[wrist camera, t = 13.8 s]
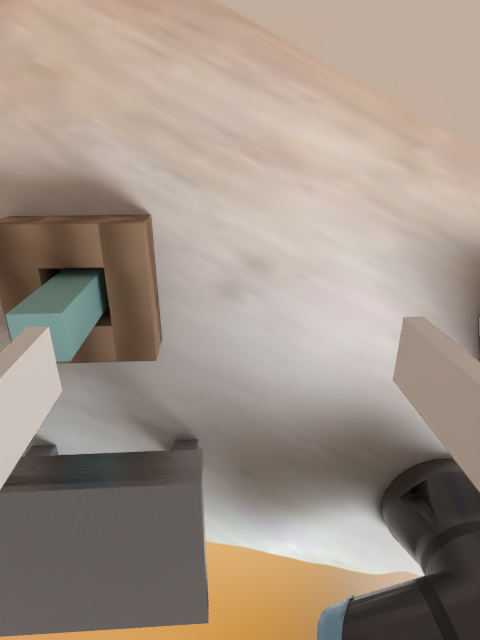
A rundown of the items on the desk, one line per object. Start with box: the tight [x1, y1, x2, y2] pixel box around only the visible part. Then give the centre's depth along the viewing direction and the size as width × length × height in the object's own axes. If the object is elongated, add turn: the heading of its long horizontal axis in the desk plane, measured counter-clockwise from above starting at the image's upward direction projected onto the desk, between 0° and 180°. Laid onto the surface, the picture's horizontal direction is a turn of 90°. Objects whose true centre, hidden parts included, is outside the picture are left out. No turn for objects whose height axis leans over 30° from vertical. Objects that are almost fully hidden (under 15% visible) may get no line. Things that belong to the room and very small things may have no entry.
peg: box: [6, 267, 109, 362], centre depth 37 cm, size 4×4×14 cm
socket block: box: [0, 215, 162, 364], centre depth 41 cm, size 14×14×5 cm
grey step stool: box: [0, 440, 209, 637], centre depth 41 cm, size 24×16×20 cm, turn 90°
